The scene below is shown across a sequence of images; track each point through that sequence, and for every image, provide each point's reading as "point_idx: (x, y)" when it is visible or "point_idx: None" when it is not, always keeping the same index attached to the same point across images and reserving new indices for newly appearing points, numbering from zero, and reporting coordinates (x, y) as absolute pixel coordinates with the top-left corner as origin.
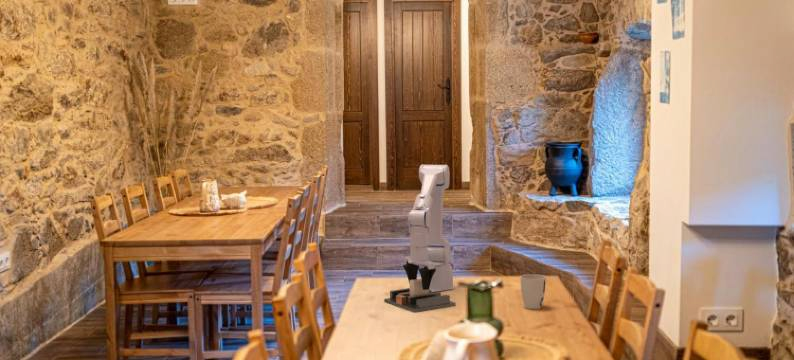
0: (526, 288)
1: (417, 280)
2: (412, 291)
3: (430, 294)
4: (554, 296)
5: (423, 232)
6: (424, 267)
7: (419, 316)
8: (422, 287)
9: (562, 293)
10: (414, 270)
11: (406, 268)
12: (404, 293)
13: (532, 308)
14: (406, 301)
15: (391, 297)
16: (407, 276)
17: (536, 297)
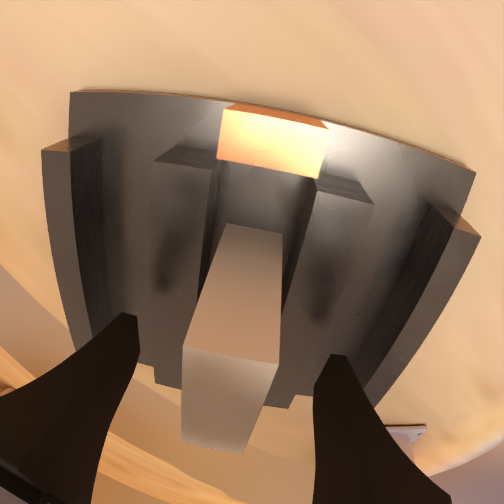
0: None
1: (199, 390)
2: (231, 273)
3: (154, 334)
4: (98, 466)
5: None
6: (27, 493)
7: (15, 68)
8: (126, 325)
9: (115, 479)
10: (326, 497)
11: (383, 498)
12: (327, 245)
13: (6, 388)
14: (296, 213)
15: (443, 209)
16: (379, 418)
17: None
